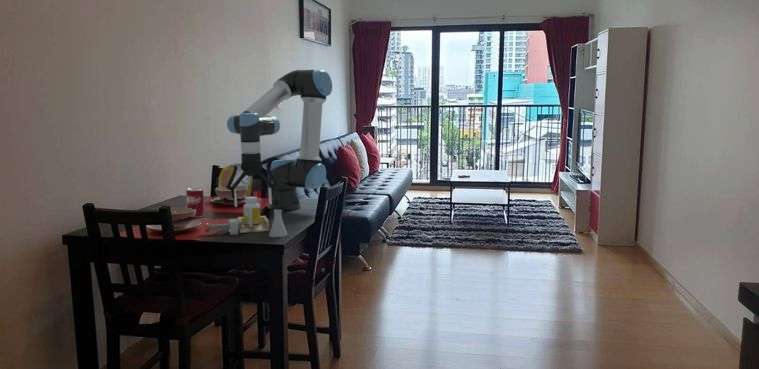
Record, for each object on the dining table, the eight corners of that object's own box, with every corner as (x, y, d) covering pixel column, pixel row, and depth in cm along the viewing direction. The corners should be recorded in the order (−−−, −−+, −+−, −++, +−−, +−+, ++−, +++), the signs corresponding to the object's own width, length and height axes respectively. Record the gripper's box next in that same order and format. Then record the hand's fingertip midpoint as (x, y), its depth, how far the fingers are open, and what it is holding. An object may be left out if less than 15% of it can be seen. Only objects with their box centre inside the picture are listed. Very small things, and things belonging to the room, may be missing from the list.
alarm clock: (228, 201, 280) (227, 165, 277) (219, 199, 285) (218, 163, 282) (253, 197, 290) (252, 162, 288) (244, 195, 296) (243, 161, 293)
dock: (265, 223, 233) (265, 215, 233) (269, 230, 221) (269, 222, 221) (237, 225, 230) (237, 217, 229) (239, 232, 218) (239, 224, 217)
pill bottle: (263, 224, 228) (262, 196, 226) (255, 228, 222) (254, 199, 220) (249, 223, 230) (248, 195, 228) (240, 227, 224) (239, 198, 222)
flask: (269, 233, 217) (269, 208, 216) (288, 233, 218) (288, 208, 216) (267, 238, 210) (267, 212, 208) (287, 238, 211) (286, 212, 209)
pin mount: (237, 230, 221) (236, 218, 221) (238, 234, 216) (237, 222, 215) (229, 231, 220) (228, 219, 220) (230, 234, 215) (229, 222, 214)
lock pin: (239, 229, 220) (239, 220, 220) (240, 231, 217) (240, 222, 216) (204, 231, 216) (204, 222, 216) (204, 233, 213) (204, 224, 212)
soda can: (199, 218, 242) (198, 191, 240) (184, 217, 243) (182, 190, 241) (207, 215, 249) (206, 188, 247) (192, 214, 250) (191, 187, 248)
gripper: (281, 149, 228) (283, 200, 232) (217, 152, 221) (220, 205, 225) (283, 152, 221) (285, 204, 225) (218, 154, 214) (221, 209, 218)
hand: (253, 204), depth 225 cm, fingers open, 13 cm apart
